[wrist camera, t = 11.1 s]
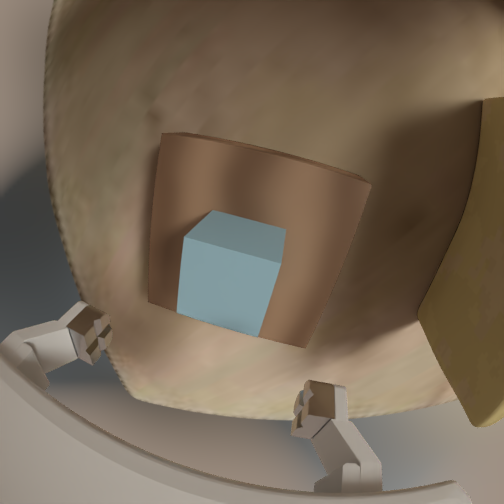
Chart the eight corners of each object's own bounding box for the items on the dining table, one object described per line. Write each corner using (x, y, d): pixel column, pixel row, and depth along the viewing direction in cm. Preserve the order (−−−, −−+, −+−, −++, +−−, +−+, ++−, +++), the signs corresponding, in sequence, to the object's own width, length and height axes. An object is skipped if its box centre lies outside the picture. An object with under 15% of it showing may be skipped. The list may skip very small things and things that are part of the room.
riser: (358, 175, 19) (372, 184, 16) (305, 319, 25) (305, 348, 22) (184, 132, 20) (162, 133, 16) (166, 279, 26) (148, 301, 22)
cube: (286, 229, 18) (281, 263, 13) (267, 291, 20) (257, 337, 15) (212, 209, 18) (184, 236, 13) (202, 273, 20) (176, 312, 16)
